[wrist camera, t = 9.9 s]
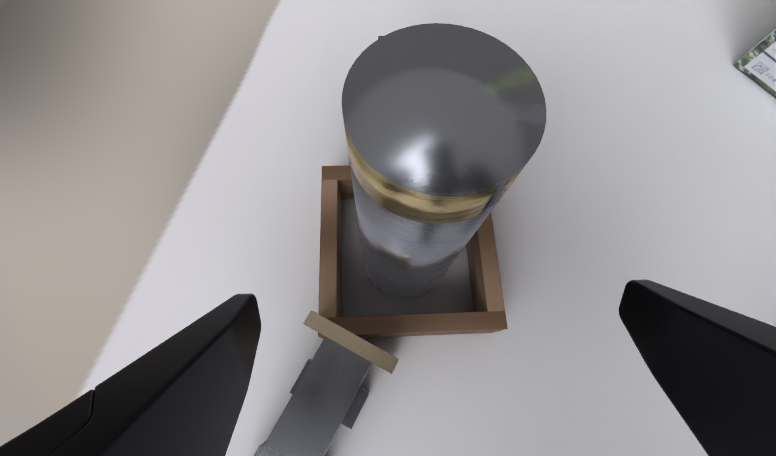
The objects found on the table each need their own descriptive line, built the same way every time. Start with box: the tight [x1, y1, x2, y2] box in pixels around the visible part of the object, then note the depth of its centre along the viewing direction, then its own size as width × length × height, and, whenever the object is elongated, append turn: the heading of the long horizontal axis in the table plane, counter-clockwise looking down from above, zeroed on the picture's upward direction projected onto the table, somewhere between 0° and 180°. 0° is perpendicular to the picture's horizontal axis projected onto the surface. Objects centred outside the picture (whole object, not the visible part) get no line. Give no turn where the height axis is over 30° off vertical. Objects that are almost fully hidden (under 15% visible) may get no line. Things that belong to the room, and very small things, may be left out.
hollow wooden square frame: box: [318, 166, 507, 338], centre depth 19 cm, size 9×9×2 cm
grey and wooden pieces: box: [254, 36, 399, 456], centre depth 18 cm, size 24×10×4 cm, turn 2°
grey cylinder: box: [342, 23, 546, 298], centre depth 14 cm, size 5×5×13 cm
